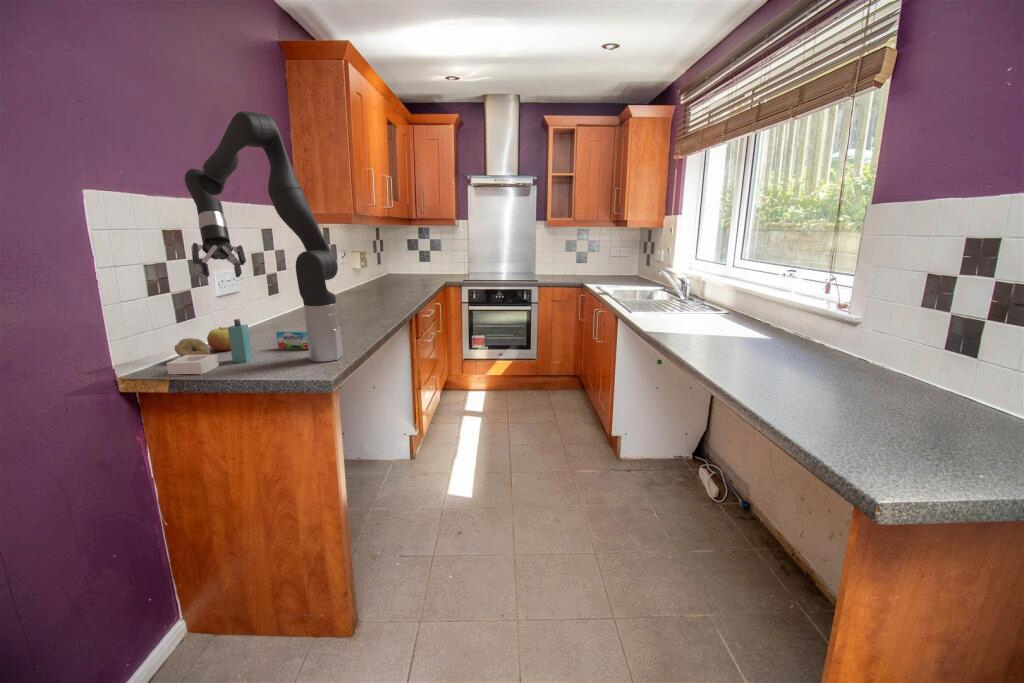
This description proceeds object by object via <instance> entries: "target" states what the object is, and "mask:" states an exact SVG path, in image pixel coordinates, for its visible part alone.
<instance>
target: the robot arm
mask: <svg viewBox="0 0 1024 683" xmlns="http://www.w3.org/2000/svg"><path fill="white" fill-rule="evenodd" d="M284 144H285V143H284V140H283V138H282V135H281V132H280V129H279V127H278V125H277V123H276V121H275V120H274V119H273V117H271V115H269V114H265V113H259V112H253V111H252V112H251V111H238V112H236V113H235V114H234V115H233V117H232V118H231V120H230V121H229V124H228V125H227V128H226V130H225V132H224V134H223V136H222V138H221V140H220V143H219V144H218V146H217V147H216V149H215V150H214V151H213V152H212V154H211V155H210V156H209V157H207V159H206V160H205V161H204V163H203V166H202V169H203V170H202V169H198V168H190V169H188V170H186V173H185V175H184V184H185V186H186V189H187V191H188V192H189V194H190V196H191V198H192V200H193V202H194V203H195V206H196V210H197V212H196V213H197V217H198V228H199V232H200V236H201V242H202V244H198V243H196V242H193V243H192V246H191V256H192V263H193V264H194V265H199V266H200V268H201V273H202V275H203V276H204V277H205V278H208V277H210V269H209V264H208V262H209V260H210V259H212V260H221V261H222V260H223V261H224V260H226V261H227V262H228V263H230V264H232V265H233V269H234V273H235V274H234V275H235V277H236V278H240V276H241V275H242V274H243V272H242V267H241V266H244V265H245V264H246V262H247V260H246V255H245V251H244V247H243V246H242V245H240V244H239V245H238V246H233V245H232V244H231V240H230V235H229V229H228V224H227V220H226V218H225V215H224V210H223V209H224V208H223V204H222V202H221V200H220V199H219V198H217V197H216V196H219V195H221V194H222V193H223V191H224V188H225V185H226V182H227V179H228V178H229V177H230V176H231V175H232V174H233V173H234V172H235V170H236V169H237V168H238V165H239V154H238V153H239V151H241V150H242V149H243V148H245V147H250V148H252V147H253V148H262V149H263V150H264V152H265V154H266V157H267V159H268V161H269V167H270V168H269V169H270V170H269V177H268V184H267V192H268V195H269V198H270V200H271V203H272V205H273V207H274V209H275V212H276V213H277V215H278V217H279V218H280V219H281V220H282V222H283V223H285V225H286V226H288V228H289V229H290V230H291V231H292V232H293V233H294V234H295V235H296V236H297V238H298V239H299V240H300V242H301V243H302V245H303V247H304V249H305V251H302V252H301V253H300V254H298V255H297V258H296V261H295V273H296V280H297V286H298V292H299V295H300V297H301V299H302V302H303V310H304V319H305V320H304V321H305V328H306V330H305V331H307V339H308V348H309V350H308V356H309V360H310V361H311V362H315V363H316V362H317V363H319V362H322V363H323V362H330V361H338V360H339V359H340V358H342V357H343V355H344V351H343V340H342V329H341V326H340V325H339V320H338V318H339V317H338V310H337V298H336V294H335V293H333V292H331V291H329V289H328V287H327V283H326V281H329V280H332V279H334V278H335V277H336V276H337V275H338V271H339V270H338V269H339V268H338V267H339V266H338V265H339V264H338V261H337V258H336V257H335V254H334V253H333V251H332V249H331V247H330V246H329V243H328V242H327V240H326V238H325V237H324V235H323V233H322V231H321V229H320V227H319V224H318V222H317V221H316V218H315V215H314V214H313V212H312V210H311V208H310V205H309V201H308V200H307V198H306V196H305V193H304V190H303V189H302V186H301V185H300V182H299V180H298V178H297V176H296V173H295V170H294V168H293V166H292V163H291V162H290V158H289V156H288V152H287V149H286V148H285V145H284ZM201 250H202V252H204V253H205V255H204V257H203V259H201V258H200V256H199V255H200V254H199V252H200V251H201ZM232 252H234V253H232ZM235 254H236V255H237V257H236V255H235Z"/></svg>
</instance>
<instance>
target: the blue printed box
mask: <svg viewBox="0 0 1024 683" xmlns="http://www.w3.org/2000/svg"><path fill="white" fill-rule="evenodd" d="M275 334H276V342H277V348H278V350H288V349H309V348H308V339H307V330H305V331H304V330H301V331H300V330H278V331H276V333H275Z"/></svg>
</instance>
